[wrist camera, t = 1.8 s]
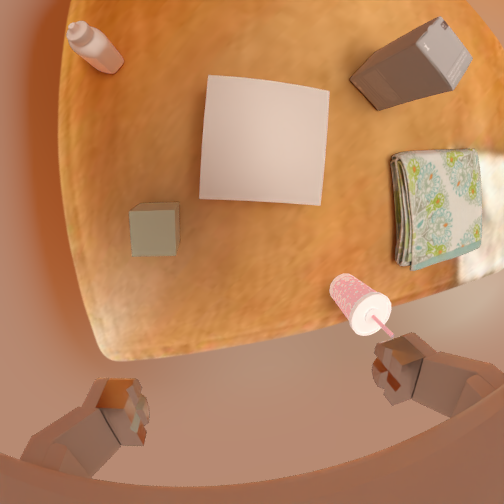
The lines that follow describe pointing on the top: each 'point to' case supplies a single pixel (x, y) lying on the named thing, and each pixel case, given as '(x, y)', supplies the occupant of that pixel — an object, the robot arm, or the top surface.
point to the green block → (155, 229)
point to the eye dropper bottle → (94, 47)
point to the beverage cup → (361, 305)
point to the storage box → (263, 141)
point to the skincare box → (414, 66)
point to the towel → (436, 205)
